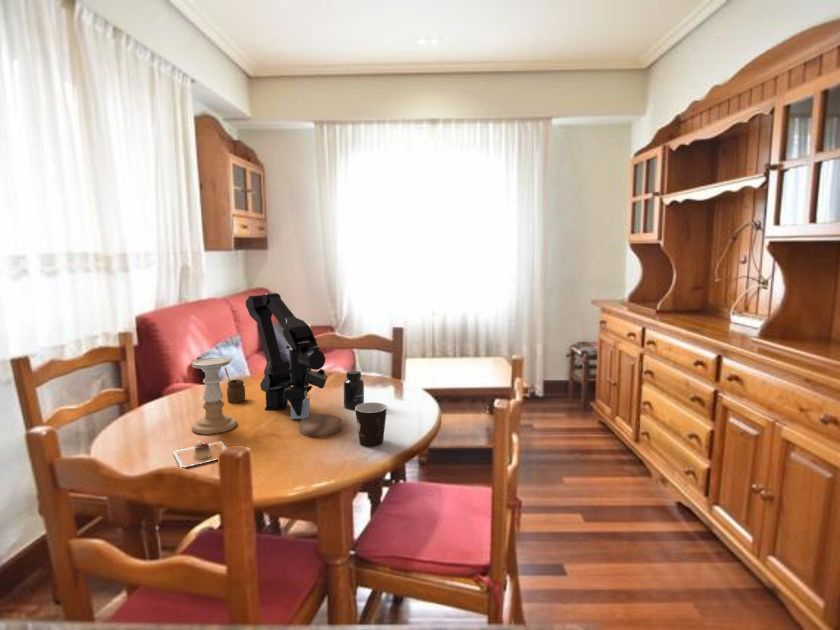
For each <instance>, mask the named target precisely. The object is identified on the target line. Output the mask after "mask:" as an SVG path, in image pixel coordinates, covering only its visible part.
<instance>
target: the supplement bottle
mask: <svg viewBox="0 0 840 630" xmlns="http://www.w3.org/2000/svg"><path fill="white" fill-rule="evenodd" d="M345 377H346V379H345V380H344V381H343V406H344V408H345V409H347V410H355V407H356V406H357V405H359V404H363V403H365V382H364V380H363V379H362V371H360V370H348V371H346V376H345Z"/></svg>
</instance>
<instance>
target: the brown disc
mask: <svg viewBox="0 0 840 630" xmlns="http://www.w3.org/2000/svg"><path fill="white" fill-rule="evenodd" d="M342 422H343V421H342V418H341V417H339V416H338V415H334V414H333V415H332V414H317V415H309V416H308V417H307V418H305V419H300V421H299V432H300V434H301V435H302V434H303V435H302V436H304V435H305V436H304V437H307V436H308V437H309V438H325V437H331V436H335V435H337V434H339V433H341V431H342V430H343V423H342Z"/></svg>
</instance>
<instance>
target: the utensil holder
mask: <svg viewBox="0 0 840 630" xmlns="http://www.w3.org/2000/svg"><path fill="white" fill-rule="evenodd" d="M224 371H225V374H226V377H227V379H228V381H227V388H226V395H227V396H226V399H227V402H228V403H232V404H236V403H241V402H244V401H245V400H246V387H245V385H244V380H243V379H245V378H244V376H241V375H242V374H245V371H243V369H240V370H238V371H237V373H236V374H237V375H239V374H240V375H239V376H236V379H230V377H229V373H228V370H227V367H225V366H224ZM241 377H242V379H239V378H241Z"/></svg>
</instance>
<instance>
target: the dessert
mask: <svg viewBox="0 0 840 630" xmlns="http://www.w3.org/2000/svg"><path fill="white" fill-rule="evenodd" d="M203 440H204V441H203ZM203 440H202V439H199V440H198V441H197V444H196V445H195V446H192V447H191V446H190V447H186V448H181V449H177V450H173V451H172V453H173V455H174V457H175V459H176V462H177V464H178V466H179V468H180V467H184V468H183V469H186V468H190V466H191V467H195V466H199V464H200V465H203V463H204V464H208V463H212V462H211V461H213V462H215V461H214V460H217V459H218V458H215V459H209V460H206V461H202V462H197V463H193V464H189V465H183V464H182V461H181V460H180V458H179V456H178V454H177V452H179V451H184V450H190V449H195V450H194V451H193V454H192V459H194V458H196V459H195V460H201V459H200V458H205V457H208V456H209V455H211V453H212V450H211V447H209V445H211V444H215V443H221V444H223V445H222V446H223V447H222V448H223V449H225V448H227V446H226V445H225V444H224V442H223V441H222V440H220V441H214V442H211V443H210V442H209V443H208V442H205V439H203ZM223 449H222V450H223ZM211 456H212V455H211ZM208 458H209V457H208ZM205 459H206V458H205ZM217 461H218V460H217ZM207 462H208V463H207Z"/></svg>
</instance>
